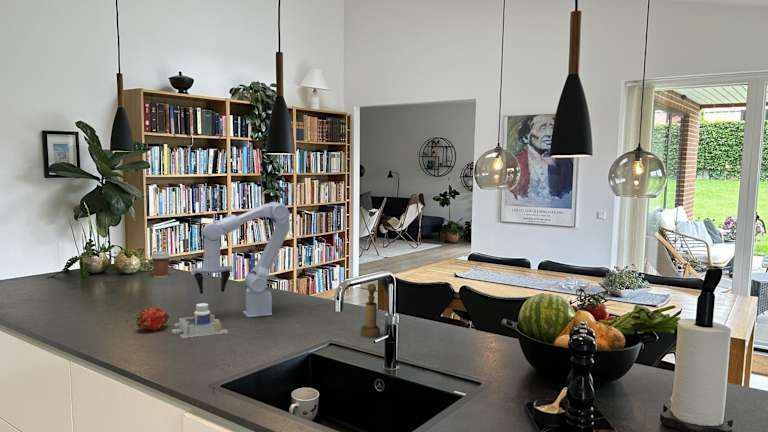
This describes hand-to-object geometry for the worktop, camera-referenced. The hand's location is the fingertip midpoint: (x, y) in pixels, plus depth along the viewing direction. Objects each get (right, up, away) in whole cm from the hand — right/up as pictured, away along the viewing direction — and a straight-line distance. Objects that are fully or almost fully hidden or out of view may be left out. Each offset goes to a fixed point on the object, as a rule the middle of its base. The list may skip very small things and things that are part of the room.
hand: (212, 292), depth 201 cm
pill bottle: (+1, -11, -13) cm, 17 cm away
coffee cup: (-48, -2, +70) cm, 84 cm away
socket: (-1, -11, -12) cm, 17 cm away
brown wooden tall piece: (+59, -13, -12) cm, 62 cm away
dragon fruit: (-16, -11, -14) cm, 24 cm away
